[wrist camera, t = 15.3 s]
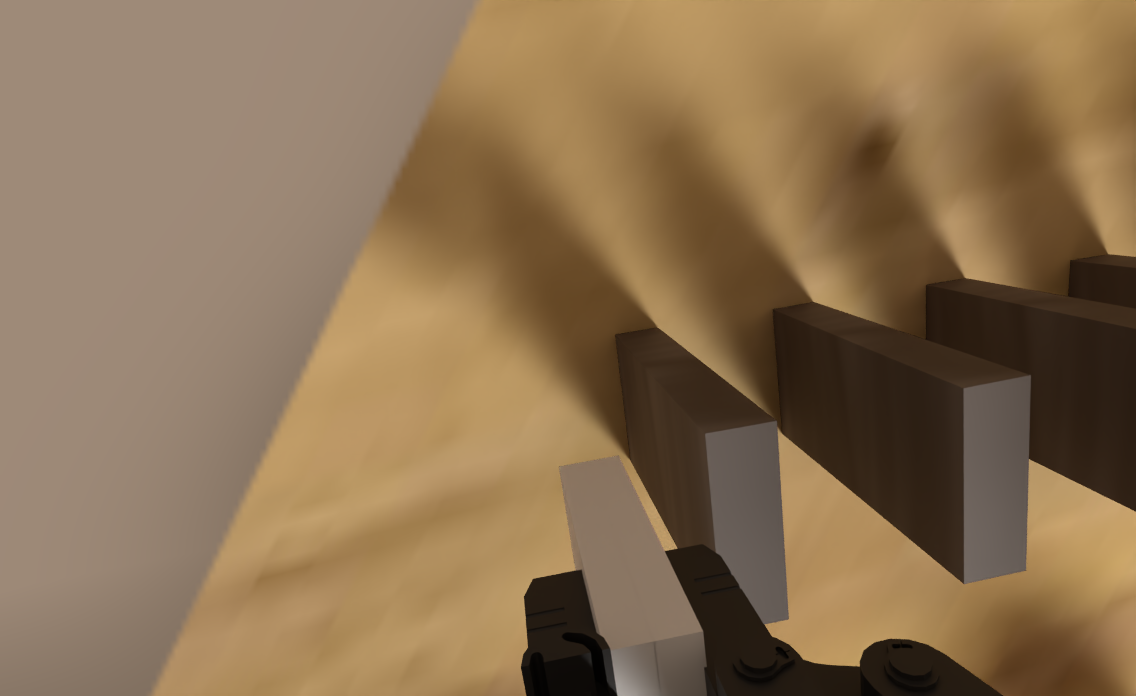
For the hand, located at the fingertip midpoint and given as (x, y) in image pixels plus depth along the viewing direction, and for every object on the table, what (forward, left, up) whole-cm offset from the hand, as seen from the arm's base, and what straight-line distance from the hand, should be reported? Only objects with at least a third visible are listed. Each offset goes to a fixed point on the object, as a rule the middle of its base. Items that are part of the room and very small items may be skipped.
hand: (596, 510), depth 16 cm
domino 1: (+3, 0, -8) cm, 9 cm away
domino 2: (+9, 0, -8) cm, 12 cm away
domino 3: (+15, 0, -8) cm, 17 cm away
